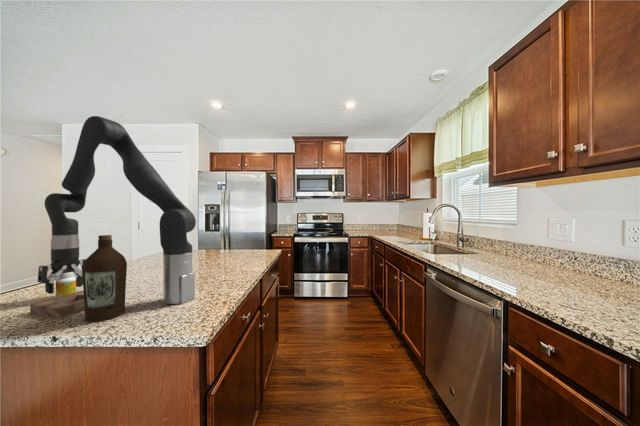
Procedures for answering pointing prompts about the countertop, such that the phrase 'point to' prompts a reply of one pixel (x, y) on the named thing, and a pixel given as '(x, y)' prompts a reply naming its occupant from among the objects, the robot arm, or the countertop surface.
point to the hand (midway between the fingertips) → (65, 289)
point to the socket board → (60, 306)
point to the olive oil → (104, 282)
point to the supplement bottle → (65, 284)
